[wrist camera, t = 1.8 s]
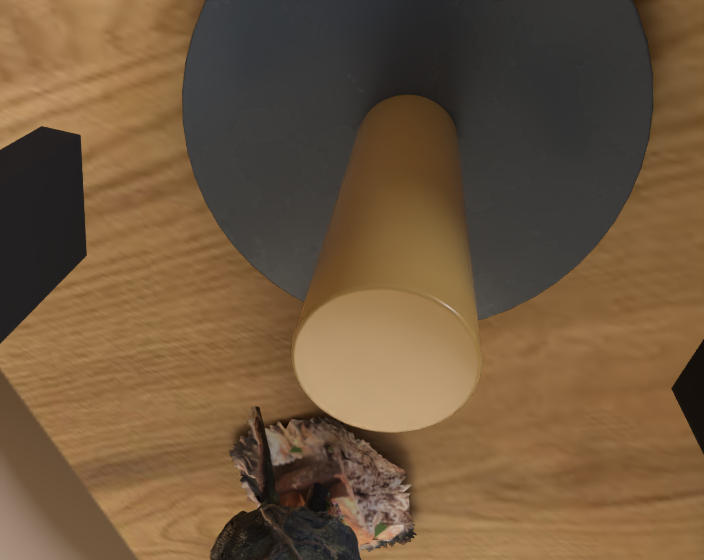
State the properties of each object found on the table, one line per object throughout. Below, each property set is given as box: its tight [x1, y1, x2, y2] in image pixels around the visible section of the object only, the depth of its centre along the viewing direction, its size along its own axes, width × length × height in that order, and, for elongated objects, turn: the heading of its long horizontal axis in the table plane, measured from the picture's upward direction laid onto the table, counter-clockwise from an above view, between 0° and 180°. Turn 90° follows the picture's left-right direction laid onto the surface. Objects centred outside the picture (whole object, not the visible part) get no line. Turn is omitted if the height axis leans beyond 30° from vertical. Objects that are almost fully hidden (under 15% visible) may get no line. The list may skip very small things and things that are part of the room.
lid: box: [182, 0, 653, 433], centre depth 14 cm, size 14×14×11 cm
